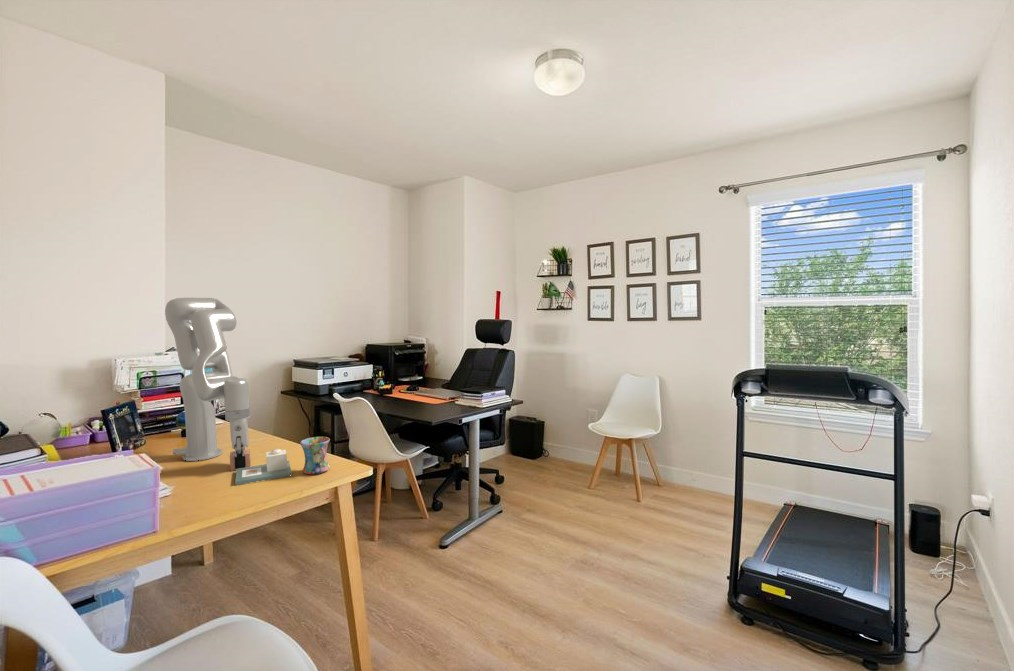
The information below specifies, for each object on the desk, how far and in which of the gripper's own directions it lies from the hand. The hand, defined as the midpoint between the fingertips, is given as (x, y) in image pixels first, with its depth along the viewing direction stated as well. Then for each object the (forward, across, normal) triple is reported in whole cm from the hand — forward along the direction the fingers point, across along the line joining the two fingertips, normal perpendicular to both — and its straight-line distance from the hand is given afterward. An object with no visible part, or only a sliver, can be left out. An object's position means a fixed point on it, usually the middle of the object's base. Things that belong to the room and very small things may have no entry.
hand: (240, 464), depth 166 cm
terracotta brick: (+1, 0, 0) cm, 1 cm away
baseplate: (+1, -13, -7) cm, 15 cm away
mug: (+1, -21, -23) cm, 31 cm away
